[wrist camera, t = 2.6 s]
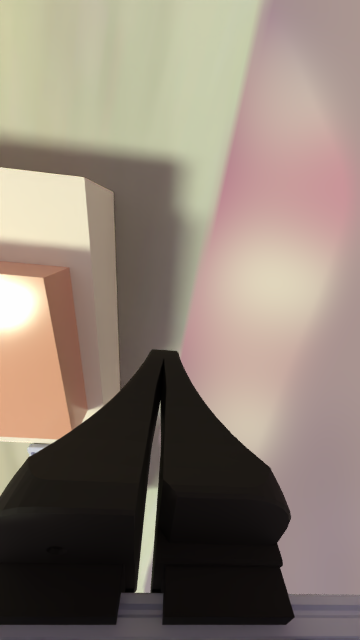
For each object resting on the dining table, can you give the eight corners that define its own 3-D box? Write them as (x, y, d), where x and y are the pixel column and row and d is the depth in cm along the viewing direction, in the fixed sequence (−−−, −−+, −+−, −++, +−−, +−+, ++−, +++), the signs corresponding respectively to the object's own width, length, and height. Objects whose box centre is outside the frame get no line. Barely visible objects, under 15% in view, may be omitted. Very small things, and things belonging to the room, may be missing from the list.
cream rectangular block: (120, 401, 18) (106, 446, 15) (3, 395, 18) (-42, 439, 14) (113, 192, 11) (84, 177, 8) (-77, 170, 11) (-203, 143, 7)
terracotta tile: (87, 410, 13) (73, 440, 11) (-11, 404, 13) (-43, 434, 11) (69, 267, 9) (43, 277, 7) (-73, 254, 9) (-136, 261, 7)
